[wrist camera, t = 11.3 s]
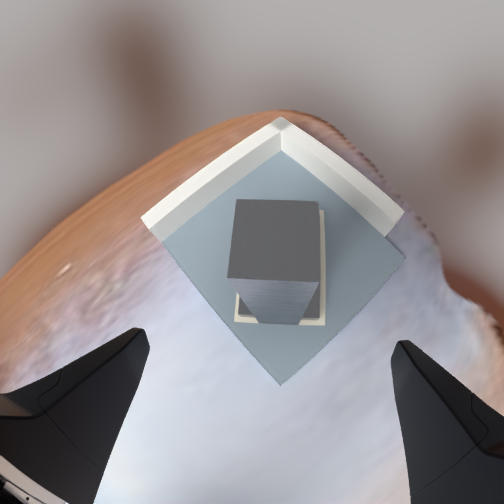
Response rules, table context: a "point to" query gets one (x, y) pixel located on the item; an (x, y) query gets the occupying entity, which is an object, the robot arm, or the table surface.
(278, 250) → the bracket
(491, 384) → the table surface
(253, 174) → the mat
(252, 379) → the table surface
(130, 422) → the table surface
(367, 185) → the walls
